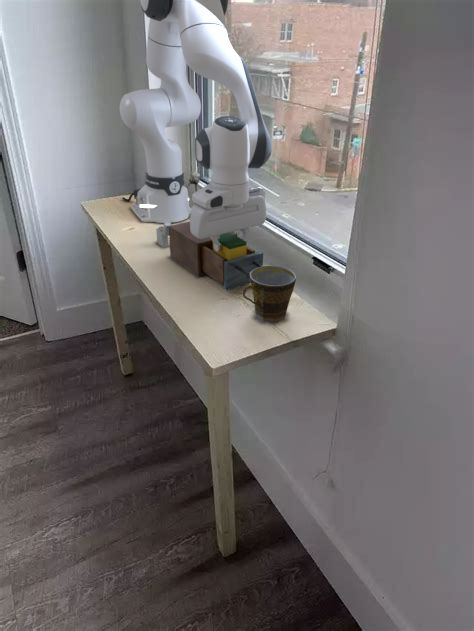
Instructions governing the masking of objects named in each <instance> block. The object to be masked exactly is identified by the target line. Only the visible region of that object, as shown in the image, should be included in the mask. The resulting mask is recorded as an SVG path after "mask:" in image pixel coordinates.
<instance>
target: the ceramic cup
mask: <svg viewBox="0 0 474 631" xmlns="http://www.w3.org/2000/svg"><path fill="white" fill-rule="evenodd" d="M296 281H297V274H296V273H295V272H294V271H293V270H292V269H289V268H287V267H283V266H281V265H280V266H279V265H263V266H262V267H258V268H256V269H254V270H252V271H251V273H250V284H246V285H245V286H244V287H243V290H242V297H243V298H244V299H245V300H247V301H249V302H250V303H252V304H253V305H254V312H255V318H256V319H258V320H259V321H260V322H262V323H270V324H271V323H272V324H276V323H278V322H281V321H284V320H286V315H287V311H288V309H289V304H290V300H291V297H292V294H293V292H294V289H295V286H296ZM248 290H251V293H252V299H253V300H252V299H251V298H249V297H247V296H246V293H247V291H248Z"/></svg>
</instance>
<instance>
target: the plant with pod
mask: <svg viewBox="0 0 474 631" xmlns="http://www.w3.org/2000/svg"><path fill="white" fill-rule="evenodd" d="M200 179H201V174H200V173H199V172H196V171H195V170H193V171H191V172H190V174H189V177H188V185H187V186H188V187H190V186H191V185H194V189H195V191H194V192H196V191H198V184H199V182H200ZM194 204H196V203H194V202H193V205H194Z"/></svg>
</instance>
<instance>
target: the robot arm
mask: <svg viewBox="0 0 474 631" xmlns="http://www.w3.org/2000/svg"><path fill="white" fill-rule="evenodd" d="M139 3H140V7H141V10H142V12H143V13H144V15H145V16H146V17H147V18H149V23H148V31H147V43H146V57H145V64H146V67H147V69H148V70H149V72H150V73H151V74H152V75H153V76H155V77H156V78H157V79H159V80H160V86H159V87H158V88H145V89H138V90H137V89H136V90H134V91H130V92H127V93H125V94H123V96H122V98H121V100H120V103H119V114H120V119H121V120H122V122H123V123H124V125H126V127H128V128H129V129H130V130H132V132H134V133H135V134H136V136H137V137H138V138H139V139H140V141H141V143H142V145H143V149H144V153H145V159H146V160H145V161H146V171H147V172H145V173H144V174H145V175H144V177H145V180H144V182H145V184H144V185H143V186H142V187H141V188H137V189H133V192H132V193H130V195H129V197H128V198H126V197H123V196H122V198H121V200H122V201H123V200H124V201H125V202H130V201H131V200H132V198H133V199H134V200H135V203H134V204H132V205H131V206H130V209H131V210H132V212H133V213H134V214H135V215H136V217H138V219H139V220H140V222H144V223H151V222H152V223H159V224H164V223H166V222H170V223H171V224H172V223H178V222H182V221H185V220H186V219H188V218H189V221H190V231H191V233H192V234H193V235H194V236H195V237H197V238H198V239H204V238H208V237H210V238H211V240H212V241H213V243H214V250H215V251H217V252H218V251H221V250H223V244H222V243H220V242H219V241H218V239H219V235H220V234H224V233H228V232H232V231H233V232H236V231H239V234H238V235H237V237H238V238H240V239H242V240H244V241H245V239H246V237H247V236H248V233H249V232H250V231H249V230H250V228H252V227H256V226H261V225H265V224H264V223H265V222H266V220H267V207H266V206H267V205H266V191H265V189H264V188H262V187H261V186H255V187H250V176H249V169H260V168H262V167H263V166H264V165H265V164H266V163H267V162H268V161H269V159H270V157H271V156H272V153H273V152H272V151H273V145H272V139H271V135H270V133H269V131H268V129H267V126H266V124H265V122H264V119H263V114H262V110H261V107H260V104H259V101H258V98H257V94H256V90H255V87H254V84H253V81H252V77H251V75H250V74H251V73H250V70H249V68H248V66H247V63H246V61H245V59H244V58H243V57H241V56H240V55H239V54H238V53H237V51H235V49H234V48H233V45H232V44H231V42H230V39H229V35H228V29H227V22H226V18H225V16H226V13H227V10H228V5H229V0H139ZM187 66H188V68H190V69H191V70H192V71H193V72H194V73H195V74H197V75H199V76H200V77H203V78H205V79H207V80H211V81H214V82H217V83H219V84H220V85H222V86H224V87H226V88H227V89H228V90H229V91H230V92H231V93H232V94H233V96H234V97H235V101H236V104H237V108H238V111H239V115H240V117H238V116H234V115H224V116H219V117H217V118H215V119H214V120H213V121H212V125H211V126H209V127H206V128H202V129H201V130H200V131H199V132H198V133H197V135H196V136H195V139H194V153H195V154H194V155H195V161H196V162H197V163H198V164H199V165H200V166H201V167H202V168H204V169H206V170H211V176H210V182H209V183H207V184H206V185H205V186H203V187H202V188H199V189H197V191H194V192H193V193H192V194H191V201H192V203H193V205H192V207H190V197H189V192H188V188H187V187H186V186H185V172H183V151H182V149H181V147H180V145H179V144H178V143H177V142H175V141H174V140H172V139H170V138H168V136H167V134H166V129H167V128H172V127H173V128H174V127H182V126H187V125H189V124H192V123H193V122H196V121H197V120H199V117H200V115H201V110H202V102H201V99H200V96H199V95H198V93H197V92H196V91H195V90H194V88H192V86H191V85H190V83H189V80H188V75H187ZM194 203H196V204H194Z"/></svg>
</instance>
